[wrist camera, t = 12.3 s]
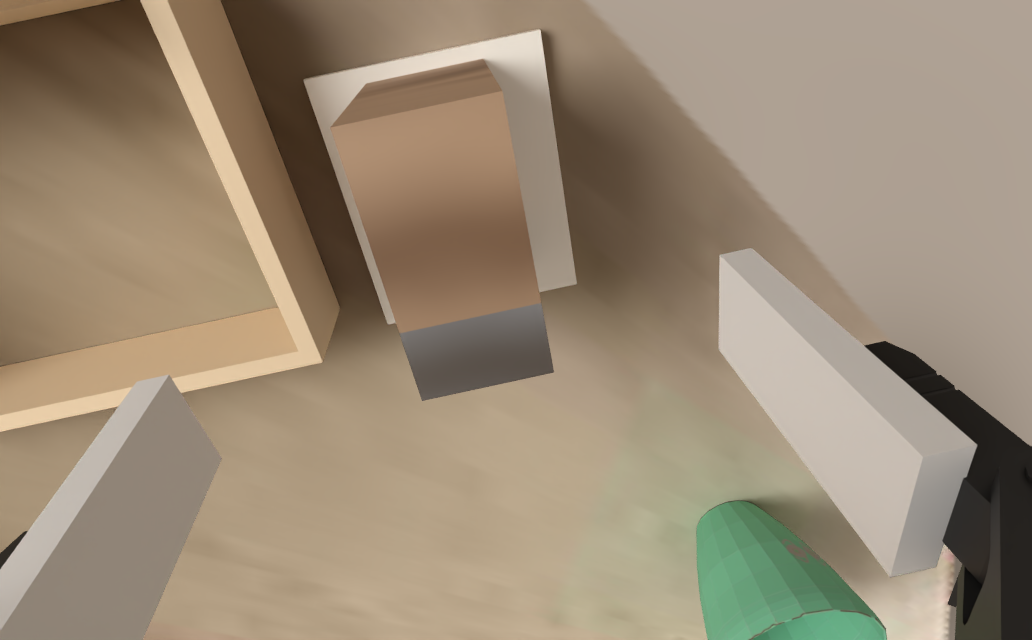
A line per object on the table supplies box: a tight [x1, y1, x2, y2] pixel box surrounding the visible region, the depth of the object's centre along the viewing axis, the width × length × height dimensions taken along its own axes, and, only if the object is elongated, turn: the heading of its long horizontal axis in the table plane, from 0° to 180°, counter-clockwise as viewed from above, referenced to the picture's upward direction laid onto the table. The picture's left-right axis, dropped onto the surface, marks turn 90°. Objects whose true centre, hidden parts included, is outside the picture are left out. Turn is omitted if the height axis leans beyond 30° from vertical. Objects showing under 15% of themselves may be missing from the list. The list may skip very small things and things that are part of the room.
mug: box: [697, 501, 887, 640], centre depth 38 cm, size 15×10×10 cm
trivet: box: [303, 29, 577, 325], centre depth 27 cm, size 12×10×1 cm
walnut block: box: [330, 59, 554, 401], centre depth 23 cm, size 10×5×9 cm, turn 10°
